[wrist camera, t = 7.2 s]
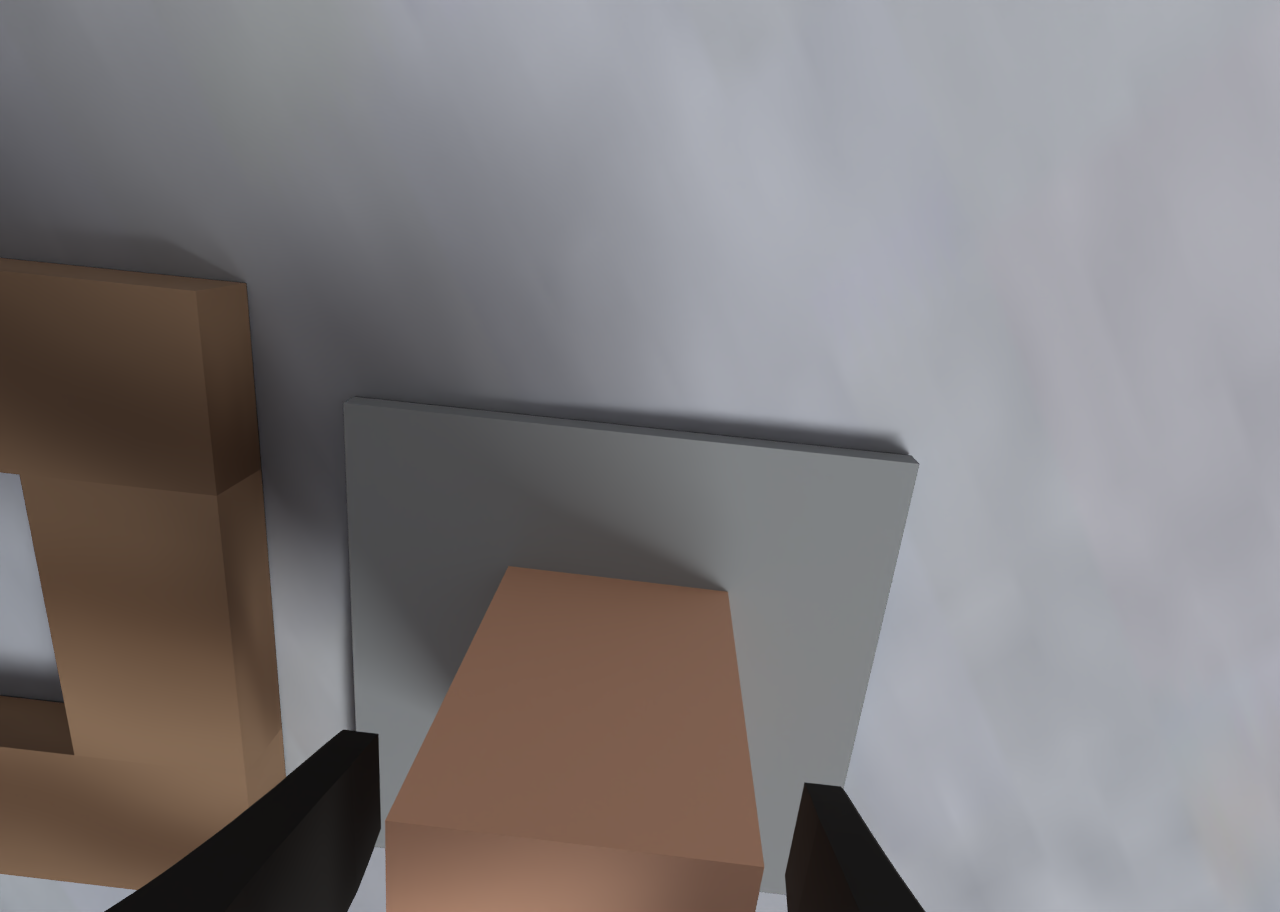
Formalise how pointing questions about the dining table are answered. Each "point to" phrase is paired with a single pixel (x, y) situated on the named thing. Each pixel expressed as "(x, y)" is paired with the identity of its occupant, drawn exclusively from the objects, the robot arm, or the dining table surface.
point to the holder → (136, 571)
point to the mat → (623, 566)
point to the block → (584, 760)
